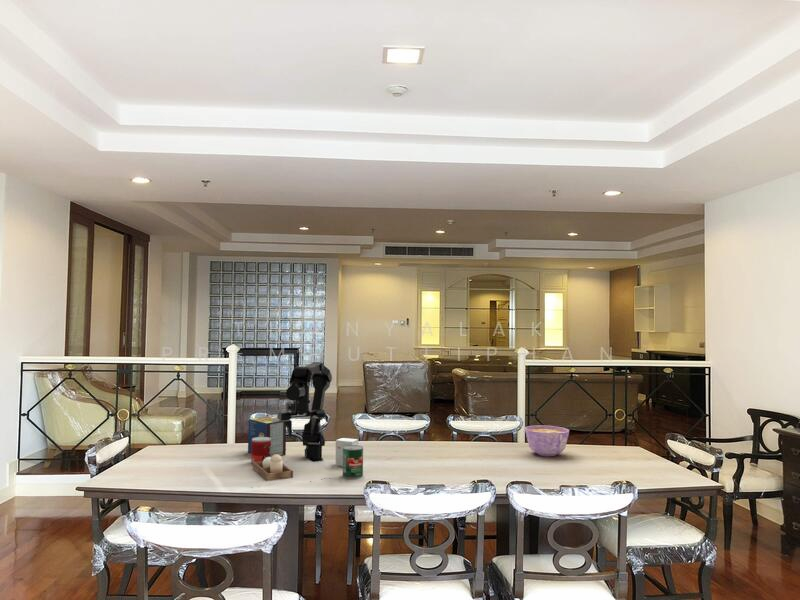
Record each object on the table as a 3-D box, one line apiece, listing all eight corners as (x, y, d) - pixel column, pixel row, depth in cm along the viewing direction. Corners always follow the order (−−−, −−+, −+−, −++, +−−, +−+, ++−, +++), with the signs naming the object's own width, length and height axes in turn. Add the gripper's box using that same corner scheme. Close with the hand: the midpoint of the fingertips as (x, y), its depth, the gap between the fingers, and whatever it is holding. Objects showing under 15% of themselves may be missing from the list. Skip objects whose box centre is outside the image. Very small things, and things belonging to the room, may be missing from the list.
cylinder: (280, 473, 212) (280, 452, 212) (283, 476, 208) (284, 455, 208) (268, 475, 210) (268, 453, 210) (271, 477, 206) (272, 456, 206)
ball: (273, 467, 221) (273, 455, 221) (276, 470, 216) (277, 457, 217) (260, 469, 218) (260, 456, 219) (264, 472, 214) (264, 459, 214)
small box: (358, 464, 232) (358, 439, 233) (351, 467, 227) (352, 441, 228) (341, 462, 236) (342, 437, 236) (335, 465, 231) (335, 439, 231)
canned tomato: (352, 472, 220) (353, 444, 220) (367, 475, 215) (367, 447, 215) (338, 476, 214) (338, 447, 214) (352, 480, 209) (353, 450, 209)
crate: (277, 468, 224) (277, 459, 224) (292, 480, 207) (292, 471, 207) (252, 471, 219) (253, 462, 219) (266, 483, 202) (267, 474, 202)
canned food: (265, 468, 224) (266, 440, 225) (247, 467, 226) (248, 439, 227) (273, 464, 232) (274, 437, 233) (256, 462, 234) (256, 436, 234)
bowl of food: (575, 459, 245) (574, 433, 246) (529, 459, 246) (529, 432, 246) (562, 450, 265) (562, 425, 266) (520, 449, 266) (520, 425, 266)
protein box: (267, 449, 259) (267, 416, 260) (286, 455, 249) (286, 420, 250) (247, 453, 252) (248, 418, 253) (265, 458, 241) (266, 422, 242)
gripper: (316, 394, 238) (315, 430, 237) (273, 396, 229) (273, 434, 228) (326, 397, 228) (325, 435, 227) (282, 399, 219) (281, 439, 218)
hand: (301, 436), depth 226 cm, fingers open, 9 cm apart
